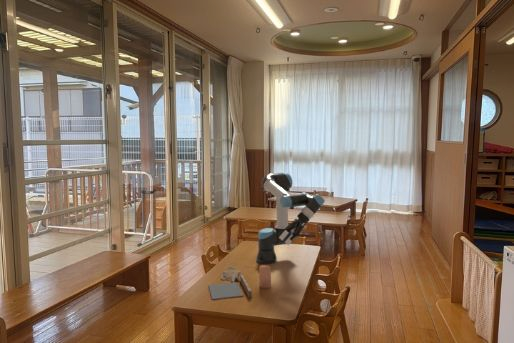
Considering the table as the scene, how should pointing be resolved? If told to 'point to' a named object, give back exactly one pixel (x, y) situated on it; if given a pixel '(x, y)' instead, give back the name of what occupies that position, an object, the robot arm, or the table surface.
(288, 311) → the table surface
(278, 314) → the table surface
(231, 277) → the turtle
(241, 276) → the wooden plank
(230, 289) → the mat
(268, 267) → the pink rounded cylinder
